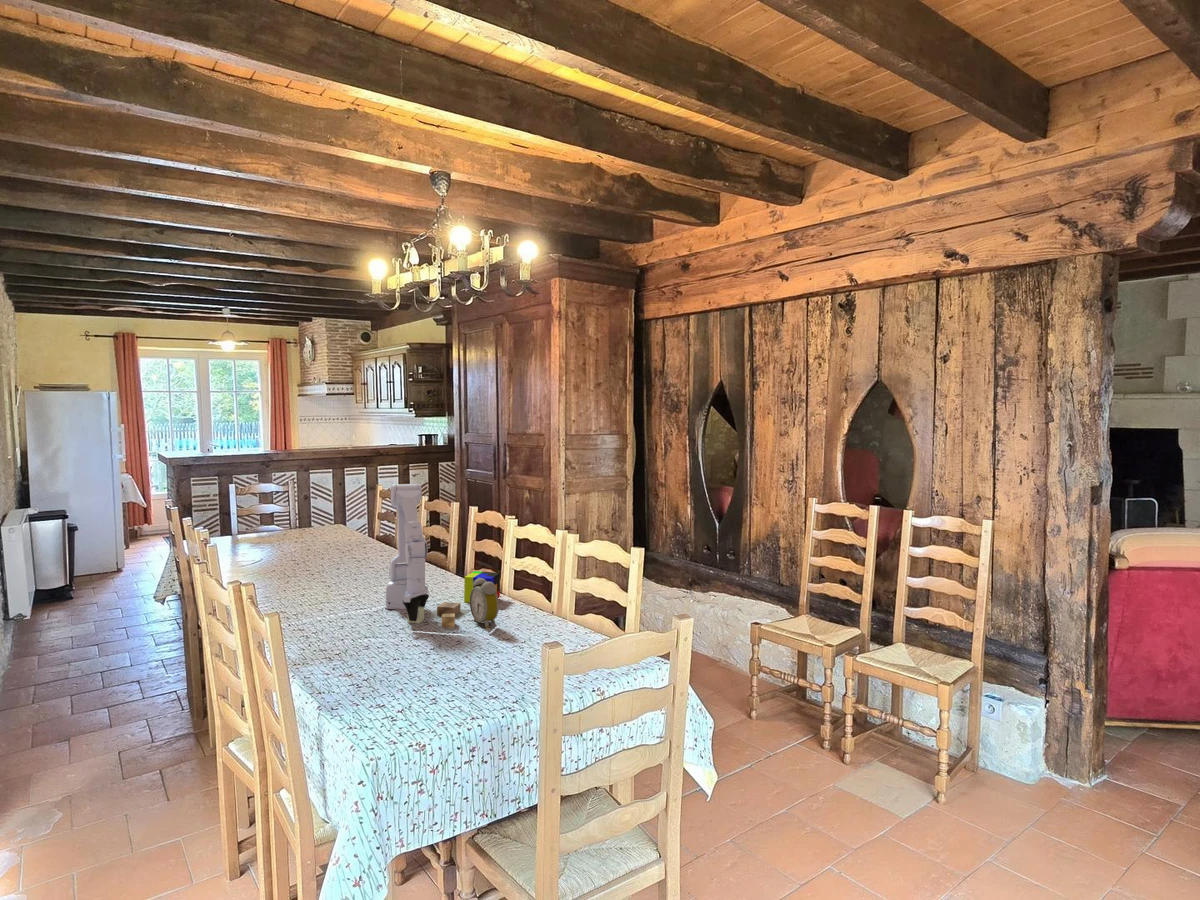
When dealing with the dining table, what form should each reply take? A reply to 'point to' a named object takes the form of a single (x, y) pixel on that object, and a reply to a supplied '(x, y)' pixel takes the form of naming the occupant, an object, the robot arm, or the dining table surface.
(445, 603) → the base block
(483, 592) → the alarm clock
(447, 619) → the ochre block
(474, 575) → the puzzle toy
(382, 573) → the dining table surface
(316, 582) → the dining table surface
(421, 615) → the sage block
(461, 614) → the build board
